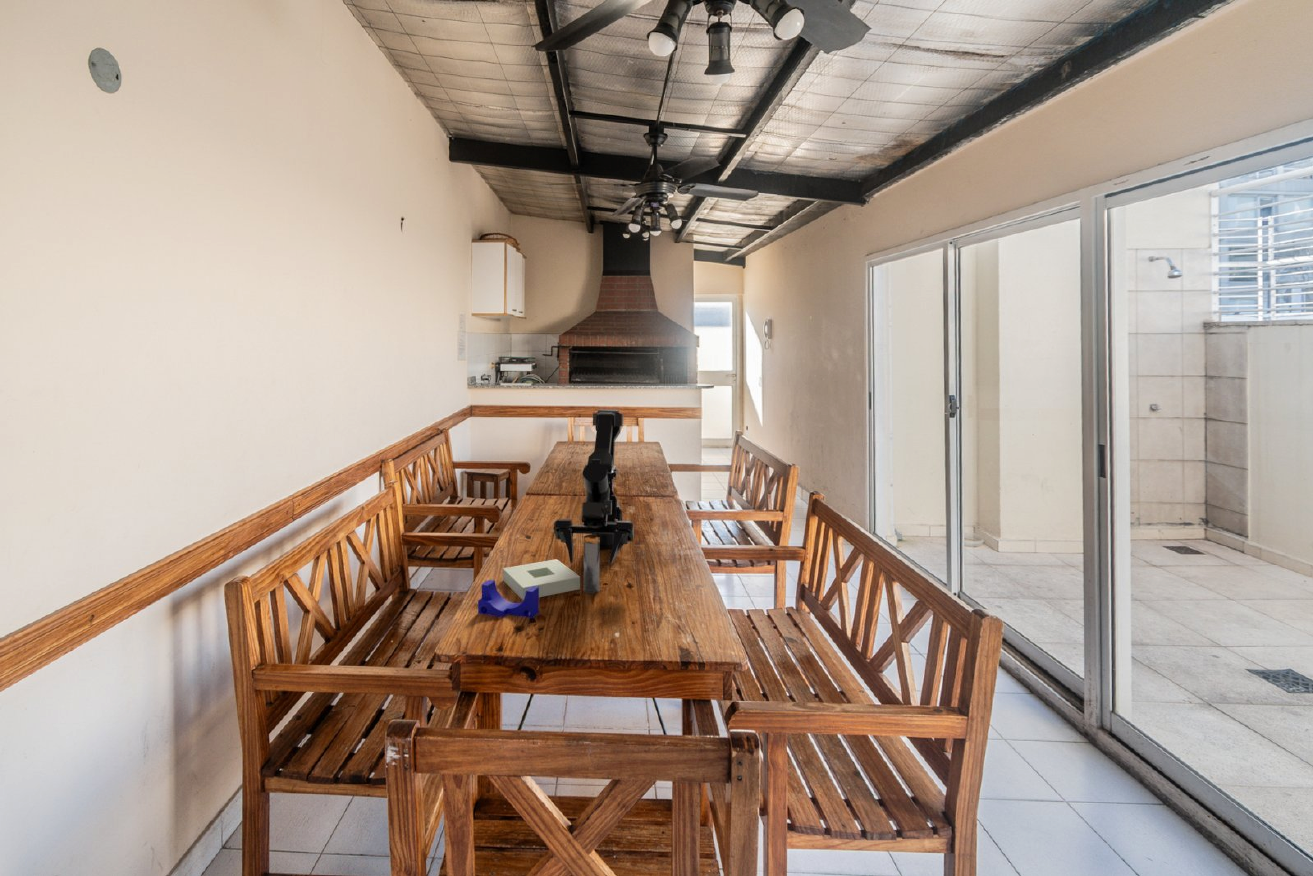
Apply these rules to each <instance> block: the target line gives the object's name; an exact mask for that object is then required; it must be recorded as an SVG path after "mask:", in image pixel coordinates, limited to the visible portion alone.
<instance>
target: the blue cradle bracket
mask: <svg viewBox="0 0 1313 876" xmlns="http://www.w3.org/2000/svg"><path fill="white" fill-rule="evenodd" d="M477 609H478V611H477V612H478V614H479V615H480V614H481V615H488V616H493V617H499V618H500V617H501V618H504V617H505V616H507V615H510V616H515V617H516V616H517V617H522V618H530V619H533V618H534V617H536V616H537V615H538V614H539V613H540V597H539V587H537V586H532V587H530V588H529V589H528V590H526V595H525V598H524V600H522V602H511V601H509V600H507V599H506V598H504V597H503V596H502V595H501V594H500V592H499V591H498V589H497V584H496V580H492V579H488V580H487V581H485V582H483V583H481V598H480V599H478V600H477Z"/></svg>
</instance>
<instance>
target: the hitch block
mask: <svg viewBox="0 0 1313 876" xmlns="http://www.w3.org/2000/svg"><path fill="white" fill-rule="evenodd" d="M502 581H503V582H505V584H506V585H507V586H508V587H509V588H510V589H511V590H512V591H513V592H514V593H515V594H516V595H517V596H518V597H519V598H520V599H521V600H522V601H523V600H524V598H525V595H526V590H528V589H529V588H530V587H532V586H537V587H539V598H542V597H547V596H553V595H556V594H562V593H567V592H572V591H577V590H581V576H580V575H578V574H577V573H576V572H575V571H573V570H572V569H570V568H569V567H568V566H567V565H565V564H564V563H562V562H561V561H560V560H558V559H557V558H555V559H549V560H544V561H543V560H542V561H539V562H531V563H526V564H521V565H520V564H519V565H515V566H508V567H502Z"/></svg>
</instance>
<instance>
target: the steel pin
mask: <svg viewBox="0 0 1313 876" xmlns="http://www.w3.org/2000/svg"><path fill="white" fill-rule="evenodd" d="M599 548H600V537H599V536H598V535H592V534H585V535H584V536H583V592H584V593H586V594H596V593H599V592H600V549H599Z"/></svg>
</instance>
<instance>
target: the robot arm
mask: <svg viewBox="0 0 1313 876" xmlns="http://www.w3.org/2000/svg"><path fill="white" fill-rule="evenodd" d="M593 426H594V428H595V429H594V430H595V431H596V432H595V433H596V434H595V441H594V450H593V452H592V453H590V455H588V458H587V459H588V460H587V463H586V464H585V465H584V467H583V470H582V473H581V474H582V479H583V481H584V482H583V483H584V488H585V491H586V494H585V495H586V496H585V502H582V505H581V506H582V507H581V508H582V509H581V523H582V525H581V524H580V525H579V524H573V521H572V520H573V519H568V518H567V519H566V518H557V519H555V521H554V523H553V532H554V536H555V539H556V540H559V541H560V542H561V543H563V544H565V546H566V550H567V553H568V556H569V557H568V558H569V562H570V564H573V561H574V534H582V535H583V534H584V535H598V536H599V537H600V548H599V551H600V550H601V551H602V550H607V549H610V550H611V551H610V555H609V565H612V564H613V563H614V561H615V559H616V557H617V556H618V553H619V551H620V550H621V549H622V547H623V546H624V545H628V543H630V542H633V541H634V536H635V535H634V533H635V531H634V530H635V529H634V523H633V522H632V520H624V519H623V510H622V509H621V506H620V505H619V499H618V498H617V496H616V495H615V492H614V480H615V478H617V476H618V469H617V467H616V465H615V450H616V449H615V445H616V442H615V441H616V440H617V438H618V437H619V436H620V434H621V430H622V429H621V428H622V427H623V426H624V413H620V409H597V412H593V413H592V427H593Z"/></svg>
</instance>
